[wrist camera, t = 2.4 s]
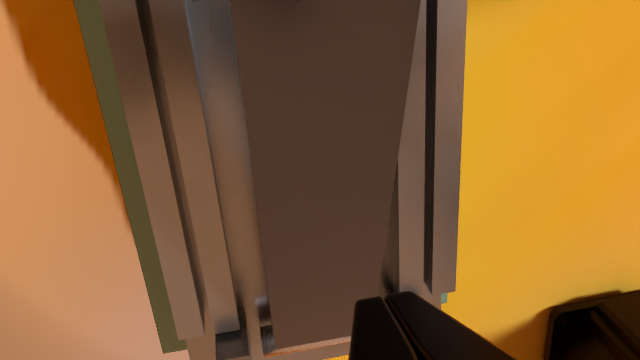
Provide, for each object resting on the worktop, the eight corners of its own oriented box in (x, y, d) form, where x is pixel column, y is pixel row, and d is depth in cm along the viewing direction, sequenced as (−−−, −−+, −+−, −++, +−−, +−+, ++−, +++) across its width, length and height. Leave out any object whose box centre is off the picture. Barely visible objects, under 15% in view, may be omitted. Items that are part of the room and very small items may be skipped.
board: (441, 294, 25) (446, 302, 24) (164, 343, 23) (163, 353, 23) (456, -231, 17) (464, -236, 16) (26, -209, 15) (19, -213, 14)
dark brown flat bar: (374, 314, 20) (382, 340, 19) (261, 335, 19) (264, 363, 19) (433, -90, 10) (454, -63, 9) (195, -69, 9) (199, -40, 8)
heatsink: (413, 289, 24) (466, 385, 19) (196, 327, 22) (194, 440, 18) (413, -151, 17) (498, -177, 12) (98, -129, 15) (50, -148, 11)
